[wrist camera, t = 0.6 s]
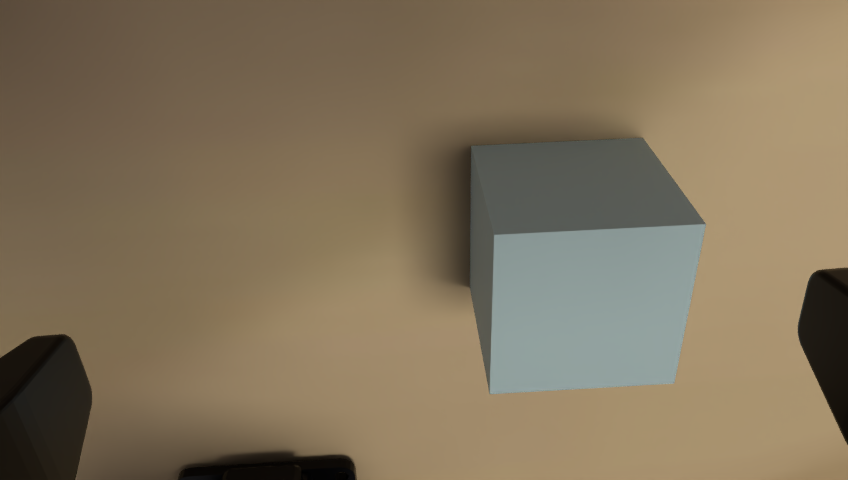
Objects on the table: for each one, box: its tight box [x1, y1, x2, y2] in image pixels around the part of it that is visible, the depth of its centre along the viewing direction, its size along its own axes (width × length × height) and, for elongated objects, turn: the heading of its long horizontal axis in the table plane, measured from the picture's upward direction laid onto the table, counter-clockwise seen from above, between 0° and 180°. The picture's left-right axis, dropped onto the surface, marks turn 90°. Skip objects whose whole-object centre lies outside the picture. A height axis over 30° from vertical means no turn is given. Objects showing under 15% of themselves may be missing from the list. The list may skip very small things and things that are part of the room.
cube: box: [470, 138, 706, 394], centre depth 21 cm, size 5×5×5 cm
